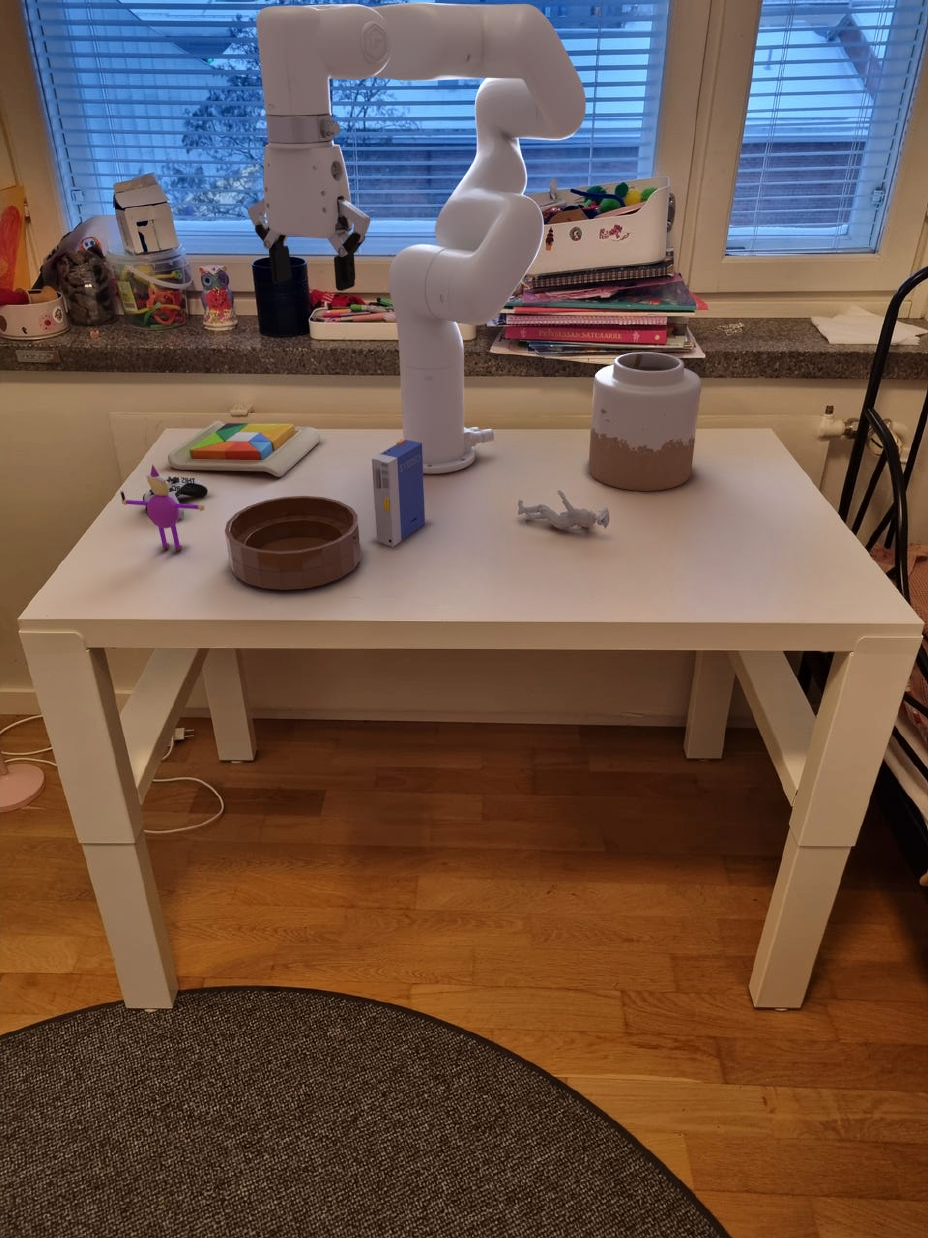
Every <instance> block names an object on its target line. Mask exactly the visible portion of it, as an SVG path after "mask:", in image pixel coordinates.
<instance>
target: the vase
mask: <svg viewBox="0 0 928 1238" xmlns="http://www.w3.org/2000/svg"><path fill="white" fill-rule="evenodd" d="M701 393H702V380H701V377H700V376H699V375H698V374H697V373H696V372H695V371H692V370H690V369H688V368H685V363H684V361H683V360H682V359H680V358H679V357H677V356H673V355H670V354H667V353H660V352H650V351H647V352H646V351H641V352H631V353H625V354H622V355H619V356H618V357H616V358H615V359H614V361H613V364H612V365H607V366H605V367H602V368H601V369H600V370H598V372H596V373H595V376H594V379H593V386H592V403H591V418H590V419H591V420H590V434H589V451H588V471H589V473H590V475H591V476H592V477H593V478H594V479H596V480H597V481H598V482H601V483H603V484H605V485H607V486H609V487H614V488H617V489H620V490H621V489H622V490H627V491H636V492H637V491H638V492H654V491H663V490H668V489H672V488H675V487H678V486H681V485H683V484H684V483H685V482H687V481H688V480H689V478H690V476H691V474H692V467H693V460H694V452H695V443H696V434H697V426H698V419H699V418H698V417H699V411H700V410H699V409H700V402H701Z"/></svg>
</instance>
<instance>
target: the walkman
mask: <svg viewBox="0 0 928 1238" xmlns="http://www.w3.org/2000/svg"><path fill="white" fill-rule="evenodd" d="M371 467H372V483H373V485H372V486H373V499H374V514H375V527H376V529H375V531H376V542H377V543H380V544H384V546H389V547H392V548H394V547H395V546H397V545H399V543H401V542H402V541H403V540H405V539H406V538H407V537H409V536H410V535H412V534H413V533H415V532H416V531H417V530H419V529H420V528H422V527H423V526H425V524H426V510H425V485H424V473H423V455H422V443H419V442H415V441H410V440H403V439H399V440H398V441H396V444H394V445H393V446H391V447H389V448H388V449H387V448H386V450H384V451H382V452H381V453H379V454H377V455H376V456H373V457H371Z"/></svg>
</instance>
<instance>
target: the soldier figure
mask: <svg viewBox="0 0 928 1238" xmlns="http://www.w3.org/2000/svg"><path fill="white" fill-rule="evenodd" d="M556 494H558V495H559V496H560V498H561V499H562V504H563V506H564V507H565V509H566V511H561V512H560V513H559V514H558V513H556V511H555V510H554V509H552V508H550V506H549V505H547V504H544V503H539V504H538V505H532V506H524V505H523V500H522V499H519V500H518V502H517V506H518V509H517V514H518V515H523V514H525V515H524V520H525V521H531V520H547V521H548V522H549V523H550V524H551V525H552V526H553V527H554V528H556V529H558V530H560V531H564V530H569V529H572V528H574V527H583V528H585V529H587V528H592V527H593V526H595V524H597V525H598V526H603V528H604V529H606V528H607V527H608V526H609V523H610V513H609V509H608V506H607V505H606V506H605V507H604V508H603V510H602V511H601V510H598V511H596V512H595V513H594V512H593V510H591V509H590V510H588V509H586V508H575V507H574V506H573V505H572V504H571V503H570V502H569V500H568V499H567V497H566V495H565V493H564V492H563V491H562V490H559V489H558V490H557V491H556ZM598 512H599V513H598ZM597 514H598V515H597Z"/></svg>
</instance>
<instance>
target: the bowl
mask: <svg viewBox="0 0 928 1238" xmlns="http://www.w3.org/2000/svg"><path fill="white" fill-rule="evenodd" d="M224 535H225V542H226V548H227V555H228V560H229V566H230V569H231V572H232V573H233V574H234V576H235V577H236V578H238V579H239V580H240V581H242V582H244V583H245V584H247V585H250V586H254V587H256V588H257V587H258V588H261V589H270V590H279V591H288V590H289V591H290V590H303V589H304V590H305V589H310V588H314V587H318V586H323V585H326V584H329V583H331V582H334V581H336V580H339V579H341V578H343V577H345V576H346V575H347V574H349V573H350V572H352V571H353V570H354V569H355V568H356V567H357V565H358V563H359V562H360V561H361V559H362V556H361V554H362V553H361V539H360V525H359V515H358V513H357V512H356V511H355V510H354V509H353V507H352V506H349V505H347V504H346V503H344V502H342V501H340V500H337V499H332V498H330V497H329V498H328V497H324V496H312V495H295V496H283V497H282V496H281V497H277V498H272V499H266V500H262V501H260V502H256V503H254V504H251V505H248V506H246V507H244V508H243V509H241V510H239V511H237V512H236V513H234V514H233V515H232V516H231V517H230V518H229V520H227V521H226V524H225V528H224Z"/></svg>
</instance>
